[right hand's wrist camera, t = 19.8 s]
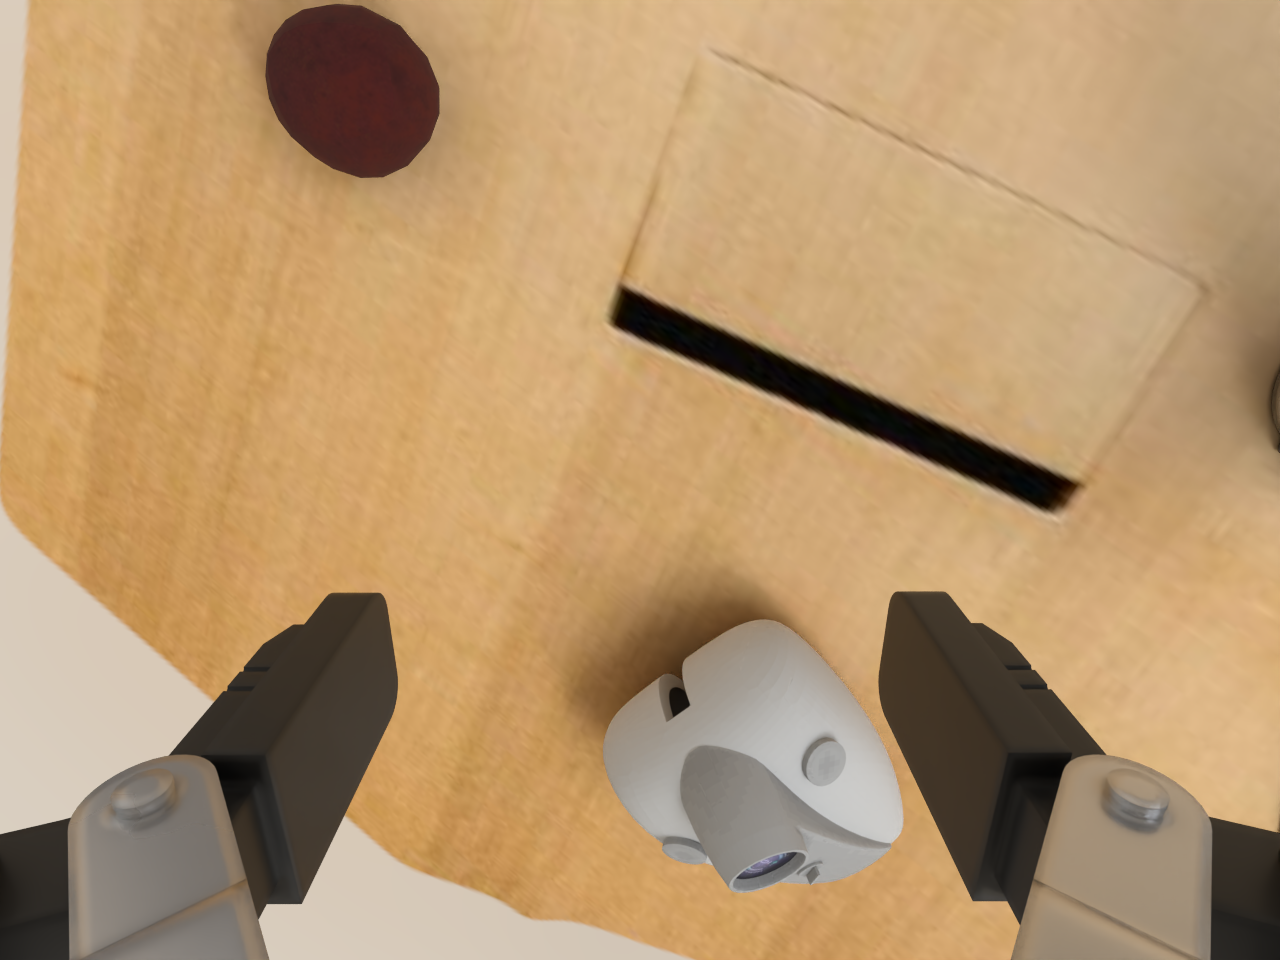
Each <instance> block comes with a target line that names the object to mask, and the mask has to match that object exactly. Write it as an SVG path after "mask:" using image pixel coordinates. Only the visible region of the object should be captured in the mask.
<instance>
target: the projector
mask: <svg viewBox="0 0 1280 960" xmlns="http://www.w3.org/2000/svg"><path fill="white" fill-rule="evenodd" d="M682 675H683V681H682V680H681V679H680V678H678V677H676V676H675V675H672V674H664V675H662V676H661V677H659V678H658V679H657V680H655V681H654V682H652V683H651V684H650V685H648V686H647V687H646V688H644V689H643V690H642V691H641V692H639V693H638V694H637V695H636V696H634V697H633V698H632V699H631V700H630V701H628V702H627V703H626V704H625V705H624V706H623V707H622V708H621V709H620V710H619V711H618V712H617V713H616V715H615V716H614V718H613V719H612V721H611V723H610V724H609V727H608V729H607V732H606V735H605V739H604V745H603V758H604V764H605V768H606V771H607V775H608V778H609V780H610V782H611V784H612V787H613V789H614V791H615V793H616V794H617V796H618V798H619V799H620V801H621V803H622V804H623V806H624V807H625V808H626V810H627V811H628V812H629V813H630V815H631V816H632V817H633V818H634V819H635V820H636V821H637V822H638V823H639V824H640V825H641V826H642V827H643V828H644V829H645V830H646V831H647V832H648V833H649V834H651V835H652V836H653V837H655V838H656V839H657V840H659V841H660V842H661V843H663V847H662V850H663V852H664V853H665V854H666V855H667V856H669V857H670V858H672V859H674V860H677V861H680V862H683V863H688V864H702V863H706V864H709V865H713V866H714V867H715V869H716V870H717V872H718V873H719V875H720V876H721V877H722V879H723V880H724V882H725V883H726V884H727V886H728V887H729V889H730V890H731V891H733V892H737V893H746V892H753V891H757V890H760V889H764V888H767V887H769V886H772V885H774V884H777V883H779V882H784V883H799V884H810V885H812V884H813V883H825V882H833V881H837V880H840V879H843V878H846V877H848V876H850V875H853V874H855V873H857V872H859V871H861V870H863V869H864V868H866V867H868V866H869V865H871V864H872V863H874V862H875V861H877V860H878V859H879V858H881V857H882V856H883V855H884V854H885V853H886V852H888V851H889V850H890V848H891V843H892V842H893V841H894V840H895V839H896V838H897V837H898V836H899V834H900V833H901V831H902V828H903V808H902V800H901V795H900V790H899V786H898V782H897V778H896V775H895V772H894V769H893V766H892V763H891V761H890V758H889V756H888V753H887V751H886V749H885V747H884V745H883V742H882V740H881V738H880V736H879V735H878V733H877V731H876V729H875V728H874V726H873V724H872V723H871V721H870V719H869V717H868V716H867V715H866V713H865V712H864V710H863V709H862V707H861V706H860V704H859V703H858V701H857V700H856V699H855V697H854V696H853V695H852V693H851V692H850V691H849V689H848V688H847V687H846V685H845V684H844V683H843V682H842V681H841V679H840V678H839V677H838V676H837V675H836V673H835V672H834V671H833V670H832V669H831V667H830V666H829V665H828V664H827V663H826V662H825V661H824V660H823V658H822V657H821V656H820V655H819V654H818V653H817V652H816V651H815V650H814V649H813V648H812V647H811V646H810V645H809V644H808V643H807V642H806V641H805V640H804V639H802V638H801V637H800V636H799V635H798V634H797V633H795V632H794V631H793V630H791V629H790V628H789V627H787V626H785V625H783V624H782V623H779V622H777V621H773V620H767V619H762V620H754V621H749V622H746V623H743V624H741V625H738V626H736V627H734V628H732V629H730V630H728V631H726V632H724V633H723V634H721V635H719V636H718V637H716V638H715V639H713V640H712V641H710V642H709V643H707V644H706V645H704V646H703V647H701V648H700V649H698V650H697V651H695V652H694V653H693V654H691V655H690V656H688V657H687V658H686V659H685V660H684V662H683V666H682Z"/></svg>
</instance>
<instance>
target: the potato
mask: <svg viewBox="0 0 1280 960" xmlns="http://www.w3.org/2000/svg"><path fill="white" fill-rule="evenodd" d="M265 76H266V82H267V88H268V94H269V99H270V102H271V104H272V106H273V108H274V111H275V113H276V115H277V117H278V120H279V121H280V122H281V124H282V125H283V126H284V128H285V129H286V130H287V132H288V133H289V134H290V136H291V137H292V138H293V139H295V140H296V141H297V142H298V143H299V144H300V145H301V146H303V147H304V148H305V149H306V150H307V151H308V152H309V153H311V154H312V155H313V156H314V157H315V158H317V159H318V160H320V161H322V162H323V163H325V164H327V165H328V166H330V167H331V168H333V169H336V170H339V171H342V172H345V173H348V174H351V175H354V176H357V177H360V178H372V177H384V176H387V175H389V174H391V173H393V172H395V171H397V170H399V169H401V168H403V167H406V166H408V165H409V163H410V162H411V161H412V160H413V159H414V158H415V157H416V155H417V154H418V153H419V152H420V151H421V150H422V149H423V147H424V146H425V145H426V144H427V143H428V142H429V140H430V138H431V136H432V133H433V130H434V127H435V124H436V122H437V119H438V116H439V86H438V83H437V80H436V78H435V75H434V73H433V70H432V68H431V65H430V63H429V60H428V58H427V56H426V55H425V54H424V53H423V52H422V51H421V49H420V48H419V47H418V46H417V45H416V44H415V43H414V41H413V40H412V39H411V38H410V37H409V36H408V35H407V33H406V32H405V31H404V30H403V28H402V27H401V26H400V25H398V24H396V23H394V22H392V21H390V20H388V19H386V18H384V17H382V16H380V15H378V14H377V13H375V12H373V11H371V10H369V9H367V8H365V7H363V6H357V5H343V4H334V5H326V6H321V7H315V8H310V9H304V10H302V11H300V12H298V13H297V14H295V15H293V16H292V17H290V18H288V19H287V20H285V22H284V23H283V24H282V25H281V27H280V28H279V29H278V31H277V32H276V33H275V34H274V36H273V39H272V42H271V44H270V47H269V50H268V53H267V61H266V75H265Z"/></svg>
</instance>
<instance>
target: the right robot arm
mask: <svg viewBox="0 0 1280 960" xmlns="http://www.w3.org/2000/svg"><path fill="white" fill-rule="evenodd" d="M1272 414H1273V419H1274V423H1275V425H1276V427H1277V429H1278V431H1279V433H1280V372H1279V374H1278V377H1277V380H1276V382H1275V386H1274V390H1273V395H1272ZM1278 452H1279V453H1280V445H1279V448H1278ZM397 691H398V676H397V669H396V662H395V655H394V649H393V642H392V635H391V629H390V622H389V615H388V609H387V604H386V600H385V598H384V596H383V595H382V594H381V593H331V594H329V595H328V596H327V597H326V598H325V599H324V600H323V602H322V603H321V604H320V605H319V607H318V608H317V609H316V610H315V612H314V613H313V614H312V616H311V617H310V618H309V619H308V621H307V622H306V623H305V624H304V625H292V626H291V627H289V628H287V629H286V630H284V631H283V632H281V633H280V634H278V635H277V636H275V637H274V638H272V639H271V640H269V641H267V642H266V643H264V644H263V645H262V646H261V648H260V649H259V650H258V651H257V652H256V653H255V655H254V656H253V657H252V658H251V659H250V661H249V662H248V663H247V664H246V665H245V666H244V671H243V672H239V673H238V675H237V676H236V677H235V678H234V679H233V681H232V682H231V683H230V684H229V685H228V689H227V691H223V692H222V693H221V695H220V696H219V697H218V698H217V699H216V701H215V702H214V703H213V704H212V705H211V707H210V708H209V709H208V710H207V711H206V712H205V713H204V715H203V716H202V717H201V718H200V719H199V721H198V722H197V723H196V724H195V725H194V727H193V728H192V729H191V730H190V731H189V732H188V734H187V735H186V736H185V737H184V738H183V739H182V741H181V742H180V743H179V744H178V745H177V746H176V748H175V749H174V750H173V751H172V752H171V754H170V755H169V756H164V757H160V758H156V759H152V760H149V761H146V762H143V763H140V764H138V765H135V766H133V767H131V768H128V769H126V770H124V771H123V772H120V773H119V774H117V775H115V776H113V777H112V778H110V779H109V780H107V781H105V782H104V783H103V784H101V785H100V786H99V787H97V788H96V789H95V790H94V791H92V792H91V793H90V794H89V795H88V796H87V797H86V798H85V799H84V800H83V801H82V802H81V804H80V805H79V806H78V807H77V809H76V810H75V812H74V813H73V815H72V817H71V818H68V819H64V820H60V821H56V822H52V823H47V824H43V825H39V826H34V827H30V828H26V829H22V830H17V831H13V832H8V833H4V834H0V960H269V957H268V953H267V950H266V946H265V943H264V939H263V935H262V932H261V928H260V925H259V921H258V919H259V918H260V916H261V914H262V912H263V910H264V908H265V906H266V904H302V902H303V900H304V898H305V896H306V894H307V892H308V890H309V888H310V886H311V883H312V881H313V879H314V877H315V875H316V873H317V871H318V869H319V867H320V865H321V863H322V861H323V859H324V857H325V854H326V852H327V850H328V848H329V846H330V844H331V842H332V840H333V838H334V836H335V834H336V832H337V830H338V827H339V825H340V823H341V821H342V819H343V817H344V815H345V813H346V811H347V809H348V807H349V805H350V803H351V800H352V798H353V796H354V794H355V792H356V790H357V788H358V786H359V784H360V782H361V780H362V778H363V775H364V773H365V771H366V769H367V767H368V765H369V763H370V761H371V759H372V757H373V755H374V753H375V751H376V748H377V746H378V744H379V742H380V740H381V738H382V736H383V734H384V732H385V730H386V728H387V726H388V724H389V721H390V719H391V717H392V715H393V712H394V709H395V705H396V699H397ZM879 695H880V701H881V706H882V709H883V713H884V715H885V717H886V719H887V722H888V724H889V726H890V728H891V730H892V732H893V734H894V736H895V738H896V740H897V743H898V745H899V747H900V749H901V751H902V753H903V755H904V757H905V759H906V762H907V764H908V766H909V768H910V770H911V772H912V774H913V776H914V778H915V780H916V783H917V785H918V787H919V789H920V791H921V793H922V795H923V797H924V799H925V801H926V804H927V806H928V808H929V810H930V812H931V814H932V816H933V818H934V820H935V823H936V825H937V827H938V829H939V831H940V833H941V835H942V837H943V839H944V841H945V844H946V846H947V848H948V850H949V852H950V854H951V856H952V858H953V860H954V863H955V865H956V867H957V869H958V871H959V873H960V875H961V877H962V879H963V881H964V884H965V886H966V888H967V890H968V892H969V894H970V896H971V898H972V900H973V901H1008V903H1009V905H1010V907H1011V909H1012V911H1013V913H1014V915H1015V916H1016V918H1017V920H1018V922H1019V924H1020V928H1019V932H1018V935H1017V939H1016V943H1015V946H1014V950H1013V953H1012V957H1011V960H1280V833H1277V832H1272V831H1268V830H1264V829H1259V828H1255V827H1251V826H1246V825H1242V824H1238V823H1233V822H1229V821H1225V820H1220V819H1216V818H1212V817H1208V815H1207V813H1206V812H1205V810H1204V809H1203V807H1202V806H1201V805H1200V803H1199V802H1198V801H1197V800H1196V799H1195V798H1194V797H1193V796H1192V795H1191V794H1190V793H1189V792H1188V791H1186V790H1185V789H1184V788H1183V787H1181V786H1180V785H1179V784H1177V783H1176V782H1175V781H1173V780H1171V779H1170V778H1168V777H1167V776H1165V775H1163V774H1161V773H1160V772H1158V771H1156V770H1154V769H1152V768H1149V767H1147V766H1145V765H1142V764H1140V763H1137V762H1134V761H1131V760H1128V759H1124V758H1120V757H1116V756H1109V755H1106V754H1105V753H1104V751H1103V750H1102V749H1101V748H1100V747H1099V745H1098V744H1097V743H1096V742H1095V741H1094V740H1093V738H1092V737H1091V736H1090V735H1089V734H1088V732H1087V731H1086V730H1085V729H1084V728H1083V726H1082V725H1081V724H1080V723H1079V722H1078V721H1077V719H1076V718H1075V717H1074V716H1073V715H1072V713H1071V712H1070V711H1069V710H1068V709H1067V707H1066V706H1065V705H1064V704H1063V703H1062V702H1061V700H1060V699H1059V698H1058V697H1057V696H1056V694H1055V693H1054V692H1053V691H1052V690H1051V689H1048V688H1047V684H1046V683H1045V681H1044V680H1043V679H1042V678H1041V677H1040V675H1039V674H1038V673H1037V672H1036V671H1035V670H1032V669H1031V665H1030V664H1029V662H1028V661H1027V660H1026V659H1025V658H1024V656H1023V655H1022V654H1021V653H1020V652H1019V650H1018V649H1017V648H1016V647H1015V646H1014V644H1013V643H1012V642H1010V641H1009V640H1007V639H1006V638H1004V637H1002V636H1001V635H999V634H998V633H996V632H995V631H993V630H992V629H990V628H989V627H987V626H986V625H984V624H983V623H971V622H970V621H969V620H968V619H967V617H966V616H965V615H964V613H963V612H962V611H961V610H960V608H959V607H958V606H957V605H956V603H955V602H954V601H953V599H952V598H951V597H950V596H949V595H948V594H947V593H946V592H895V593H894V594H893V595H892V597H891V600H890V603H889V609H888V615H887V622H886V629H885V636H884V642H883V649H882V656H881V663H880V670H879Z"/></svg>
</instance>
